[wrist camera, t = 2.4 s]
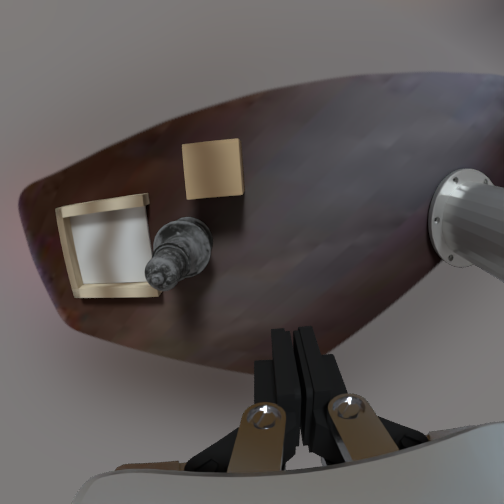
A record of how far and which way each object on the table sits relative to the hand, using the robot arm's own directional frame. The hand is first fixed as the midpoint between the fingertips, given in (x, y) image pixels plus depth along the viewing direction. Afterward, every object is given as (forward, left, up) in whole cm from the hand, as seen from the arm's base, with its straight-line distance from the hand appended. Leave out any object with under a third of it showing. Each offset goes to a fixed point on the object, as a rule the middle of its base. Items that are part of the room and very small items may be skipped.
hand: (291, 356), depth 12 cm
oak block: (+5, -8, -21) cm, 23 cm away
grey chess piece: (+9, 0, -22) cm, 23 cm away
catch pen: (+19, 0, -21) cm, 28 cm away
